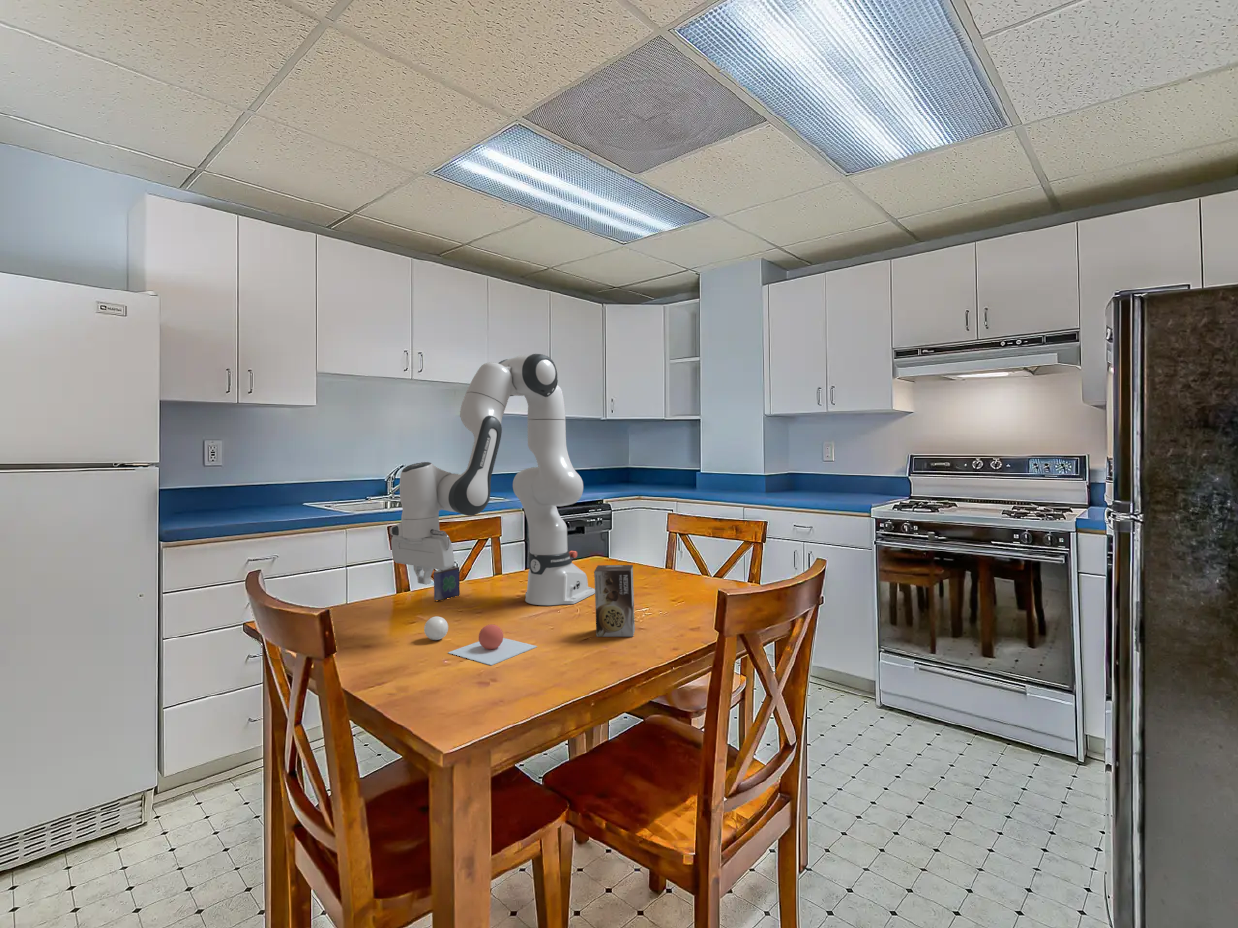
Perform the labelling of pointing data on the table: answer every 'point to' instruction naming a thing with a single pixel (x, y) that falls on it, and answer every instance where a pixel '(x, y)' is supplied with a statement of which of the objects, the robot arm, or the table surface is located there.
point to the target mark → (492, 651)
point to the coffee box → (614, 601)
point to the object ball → (490, 637)
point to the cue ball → (436, 628)
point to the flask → (446, 583)
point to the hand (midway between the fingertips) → (424, 583)
